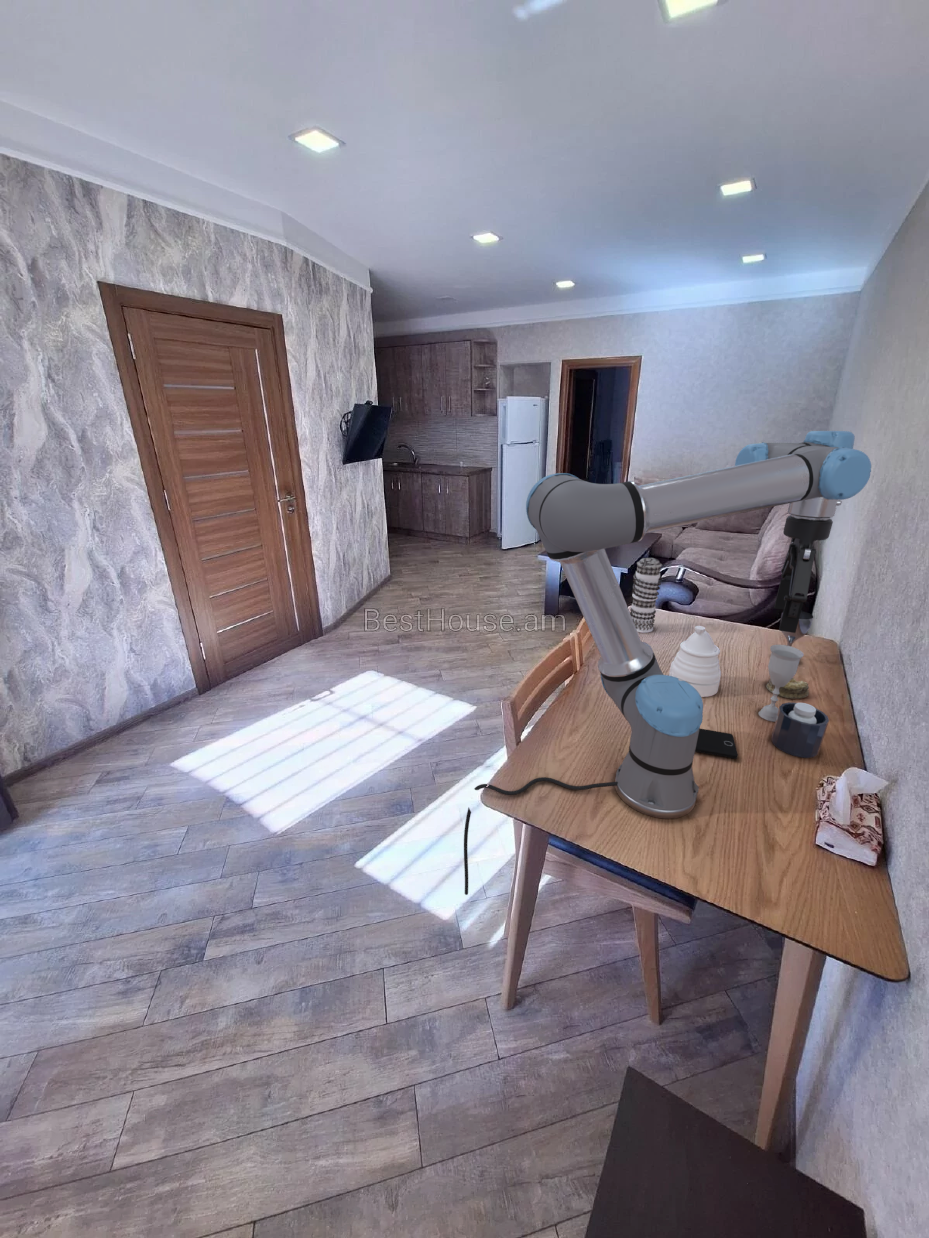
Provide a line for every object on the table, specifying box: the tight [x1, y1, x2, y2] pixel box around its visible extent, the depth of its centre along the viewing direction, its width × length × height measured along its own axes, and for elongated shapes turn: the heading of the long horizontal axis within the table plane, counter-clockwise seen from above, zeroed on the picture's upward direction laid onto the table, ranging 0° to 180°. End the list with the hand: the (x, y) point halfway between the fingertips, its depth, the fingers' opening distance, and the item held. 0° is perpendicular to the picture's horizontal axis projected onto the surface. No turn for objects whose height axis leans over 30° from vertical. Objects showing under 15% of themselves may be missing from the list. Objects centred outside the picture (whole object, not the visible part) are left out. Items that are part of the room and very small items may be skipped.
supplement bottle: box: [788, 702, 817, 724], centre depth 112 cm, size 5×5×10 cm
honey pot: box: [668, 625, 722, 698], centre depth 137 cm, size 13×13×18 cm
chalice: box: [758, 644, 804, 723], centre depth 122 cm, size 7×7×18 cm
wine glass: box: [779, 610, 814, 647], centre depth 151 cm, size 8×8×15 cm
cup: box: [771, 701, 830, 759], centre depth 113 cm, size 9×9×8 cm
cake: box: [765, 677, 810, 700], centre depth 136 cm, size 10×10×5 cm
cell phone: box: [695, 728, 739, 760], centre depth 116 cm, size 9×18×1 cm, turn 71°
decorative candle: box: [629, 557, 663, 634], centre depth 173 cm, size 9×9×25 cm
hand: (783, 619), depth 104 cm, fingers open, 13 cm apart
